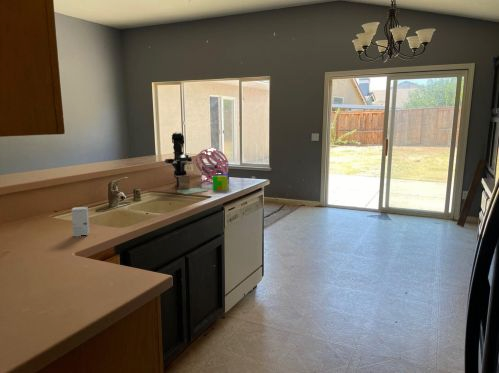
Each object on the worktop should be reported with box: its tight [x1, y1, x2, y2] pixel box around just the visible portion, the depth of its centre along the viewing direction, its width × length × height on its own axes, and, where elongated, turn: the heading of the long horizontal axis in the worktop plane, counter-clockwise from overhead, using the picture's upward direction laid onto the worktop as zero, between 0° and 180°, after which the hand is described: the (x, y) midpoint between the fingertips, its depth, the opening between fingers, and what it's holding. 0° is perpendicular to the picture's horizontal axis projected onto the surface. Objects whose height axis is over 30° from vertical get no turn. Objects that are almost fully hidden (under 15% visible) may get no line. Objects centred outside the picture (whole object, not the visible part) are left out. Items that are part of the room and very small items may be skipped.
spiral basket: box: [194, 148, 230, 184], centre depth 288 cm, size 28×28×27 cm
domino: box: [178, 174, 191, 190], centre depth 258 cm, size 3×7×10 cm, turn 128°
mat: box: [175, 187, 209, 196], centre depth 252 cm, size 14×18×1 cm
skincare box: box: [71, 206, 91, 237], centre depth 157 cm, size 6×4×12 cm
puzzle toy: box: [212, 173, 230, 191], centre depth 259 cm, size 10×10×10 cm
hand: (179, 172), depth 263 cm, fingers open, 4 cm apart
